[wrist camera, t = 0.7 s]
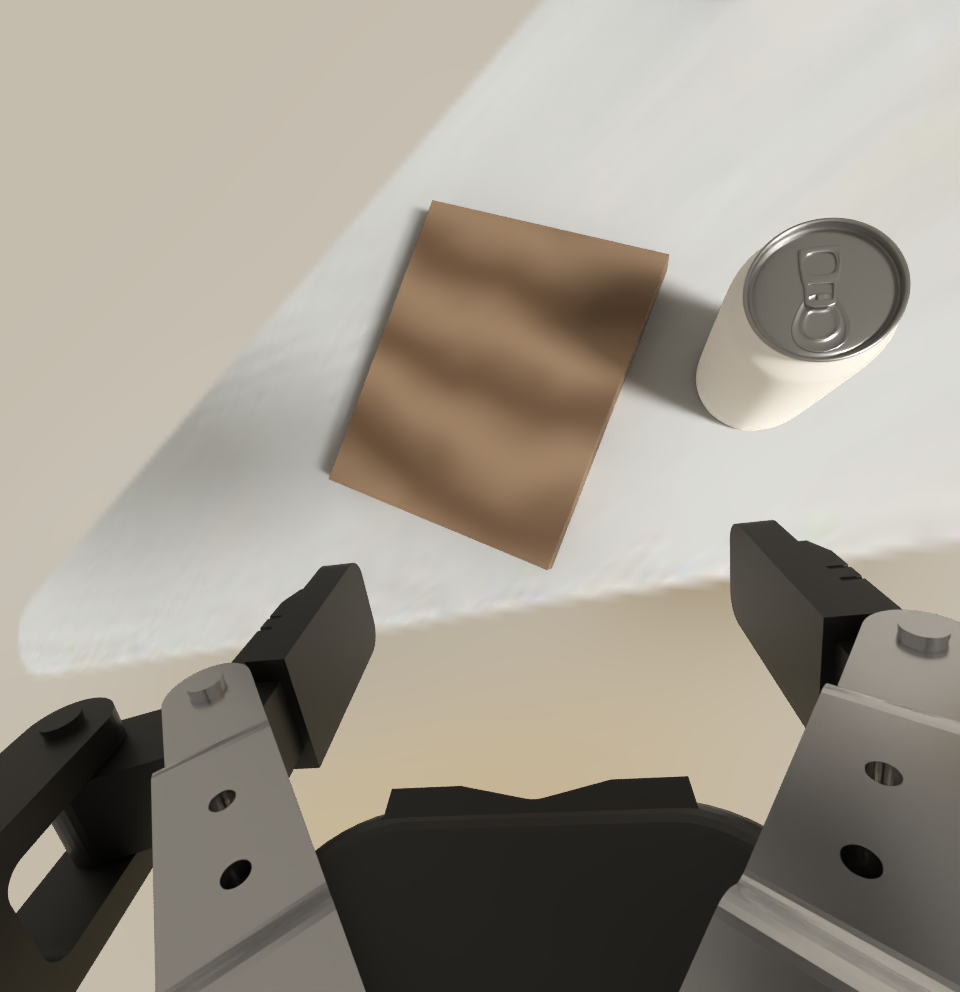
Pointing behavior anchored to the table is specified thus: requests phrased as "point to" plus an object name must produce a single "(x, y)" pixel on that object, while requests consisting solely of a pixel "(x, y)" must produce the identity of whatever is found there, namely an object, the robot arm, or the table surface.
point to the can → (801, 321)
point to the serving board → (498, 376)
